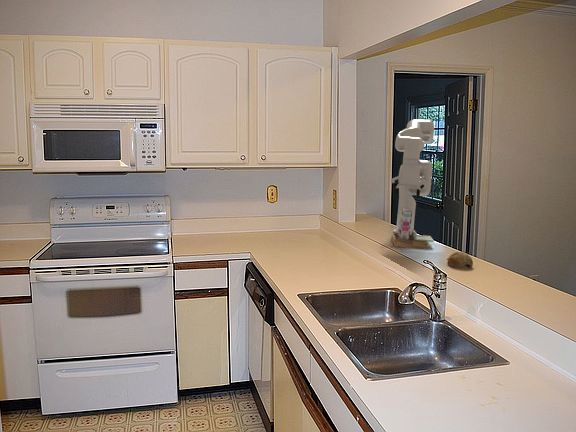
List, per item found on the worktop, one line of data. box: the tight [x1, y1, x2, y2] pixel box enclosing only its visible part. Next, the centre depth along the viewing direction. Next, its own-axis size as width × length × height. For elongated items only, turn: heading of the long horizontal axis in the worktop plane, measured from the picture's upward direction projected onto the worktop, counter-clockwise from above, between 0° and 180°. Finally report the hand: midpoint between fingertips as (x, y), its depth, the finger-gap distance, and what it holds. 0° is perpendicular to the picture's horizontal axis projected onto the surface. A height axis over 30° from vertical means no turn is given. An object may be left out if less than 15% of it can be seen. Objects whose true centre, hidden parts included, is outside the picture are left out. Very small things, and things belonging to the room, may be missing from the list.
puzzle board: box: [391, 233, 429, 250], centre depth 274 cm, size 18×16×4 cm
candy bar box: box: [397, 208, 412, 239], centre depth 273 cm, size 11×5×16 cm, turn 173°
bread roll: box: [446, 251, 474, 270], centre depth 230 cm, size 10×10×8 cm
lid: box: [412, 229, 435, 243], centre depth 273 cm, size 14×10×3 cm
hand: (407, 196), depth 271 cm, fingers open, 9 cm apart
